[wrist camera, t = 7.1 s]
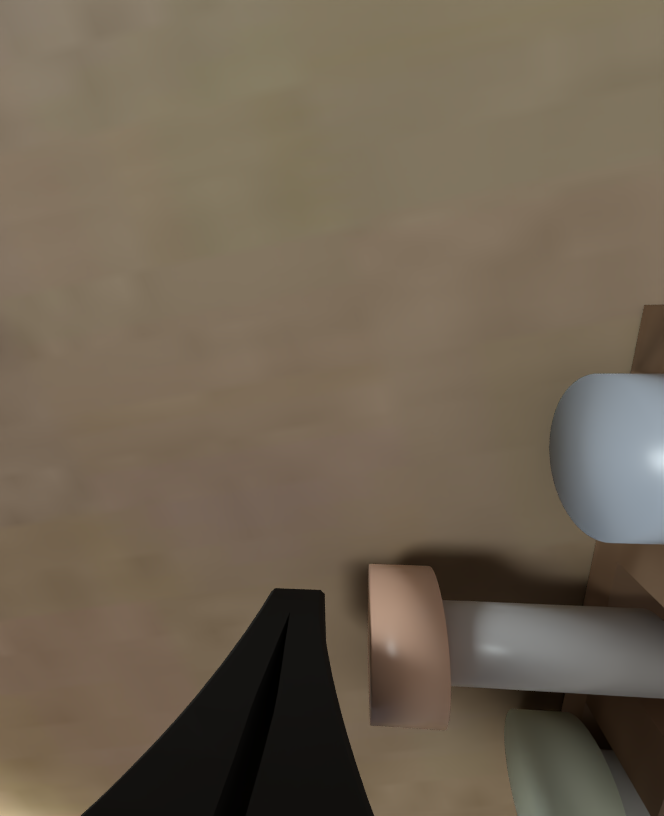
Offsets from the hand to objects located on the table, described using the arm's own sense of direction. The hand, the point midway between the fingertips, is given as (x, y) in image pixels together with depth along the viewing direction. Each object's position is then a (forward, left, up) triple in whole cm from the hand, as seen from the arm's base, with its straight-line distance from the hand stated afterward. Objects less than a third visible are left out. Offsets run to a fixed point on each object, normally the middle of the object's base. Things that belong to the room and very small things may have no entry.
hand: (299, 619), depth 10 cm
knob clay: (0, -5, -1) cm, 5 cm away
